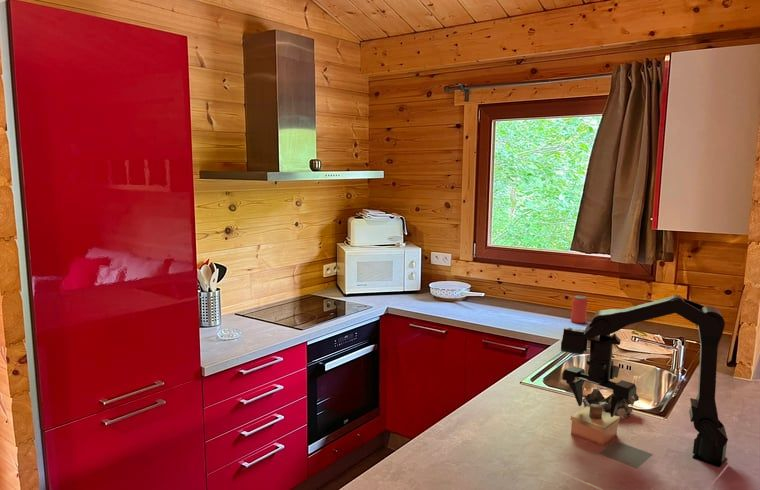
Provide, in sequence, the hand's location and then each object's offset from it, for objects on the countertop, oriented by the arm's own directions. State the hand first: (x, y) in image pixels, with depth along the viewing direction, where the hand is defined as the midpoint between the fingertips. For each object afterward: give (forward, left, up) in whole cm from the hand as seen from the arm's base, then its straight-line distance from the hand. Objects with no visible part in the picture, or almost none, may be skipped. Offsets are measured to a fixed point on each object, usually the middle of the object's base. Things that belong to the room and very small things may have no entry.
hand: (595, 411), depth 161 cm
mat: (-10, +4, -7) cm, 13 cm away
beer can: (+56, -102, -8) cm, 116 cm away
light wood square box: (0, 0, -7) cm, 7 cm away
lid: (0, 0, -3) cm, 3 cm away
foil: (+3, -17, -8) cm, 19 cm away
